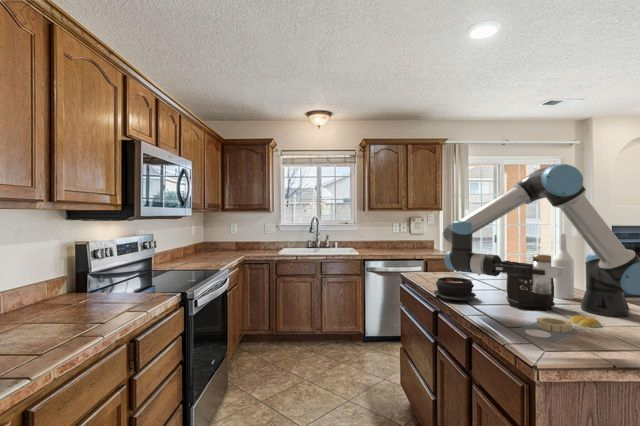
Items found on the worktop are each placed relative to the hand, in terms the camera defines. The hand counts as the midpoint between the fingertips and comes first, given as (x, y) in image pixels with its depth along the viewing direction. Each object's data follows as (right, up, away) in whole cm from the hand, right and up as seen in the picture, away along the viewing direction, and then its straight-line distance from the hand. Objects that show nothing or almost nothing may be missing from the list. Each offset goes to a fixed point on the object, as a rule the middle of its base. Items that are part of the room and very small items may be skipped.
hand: (560, 273), depth 108 cm
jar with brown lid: (-3, -7, +4) cm, 9 cm away
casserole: (-12, -21, +56) cm, 61 cm away
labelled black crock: (+14, -21, +40) cm, 48 cm away
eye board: (-2, -21, +4) cm, 21 cm away
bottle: (+39, -21, +55) cm, 71 cm away
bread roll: (+16, -21, +11) cm, 29 cm away
